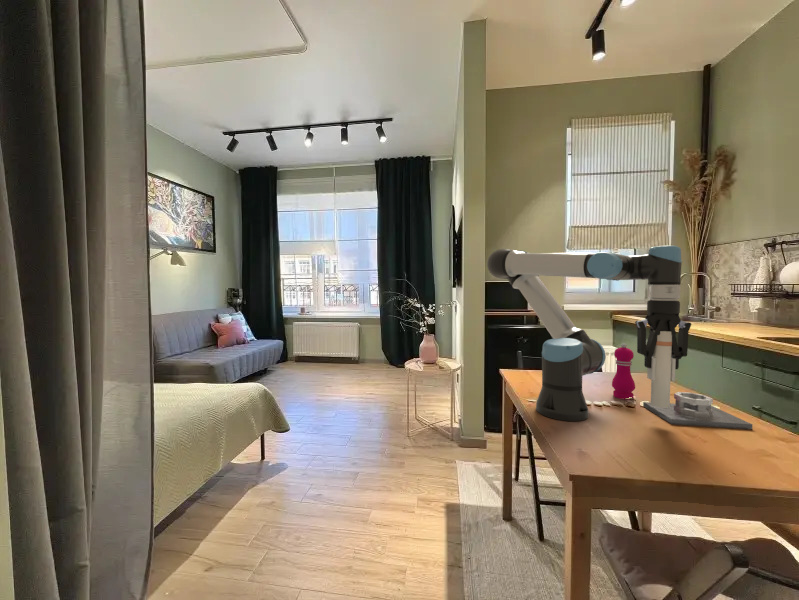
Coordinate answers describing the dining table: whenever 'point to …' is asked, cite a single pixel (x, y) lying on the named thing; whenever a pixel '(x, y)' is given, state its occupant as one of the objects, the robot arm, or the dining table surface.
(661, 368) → the cream ringed tube
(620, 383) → the pepper mill
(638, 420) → the dining table surface
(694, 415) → the tube holder base
